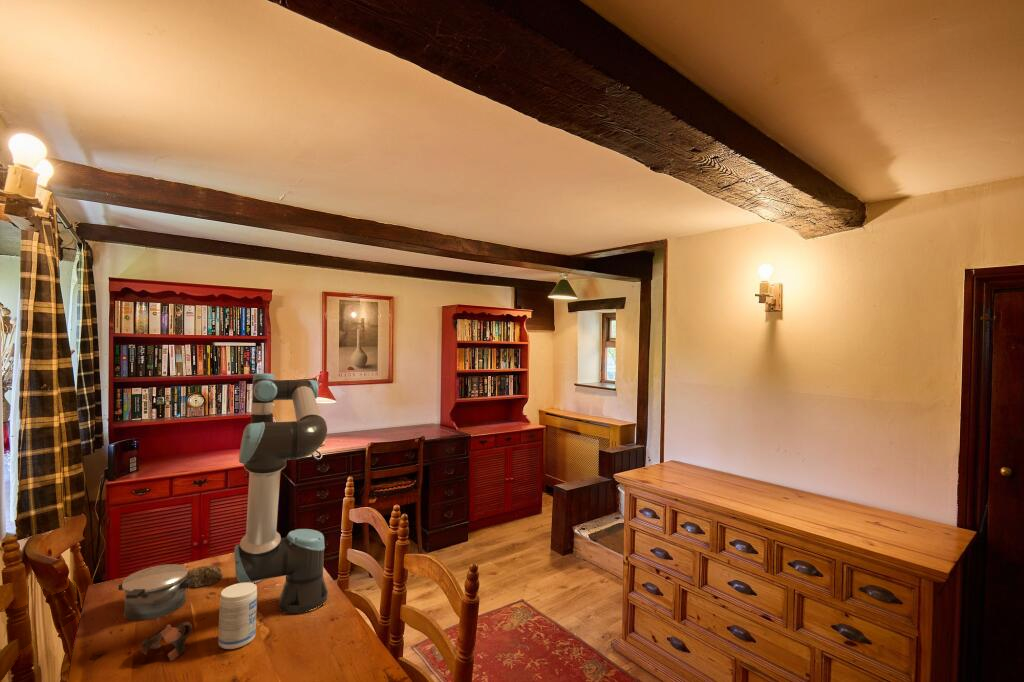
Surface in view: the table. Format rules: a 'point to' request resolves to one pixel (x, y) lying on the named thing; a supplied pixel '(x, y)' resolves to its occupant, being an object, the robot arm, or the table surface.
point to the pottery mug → (168, 639)
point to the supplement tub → (237, 615)
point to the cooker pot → (156, 601)
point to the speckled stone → (204, 575)
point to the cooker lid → (153, 579)
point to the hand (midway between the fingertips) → (259, 474)
